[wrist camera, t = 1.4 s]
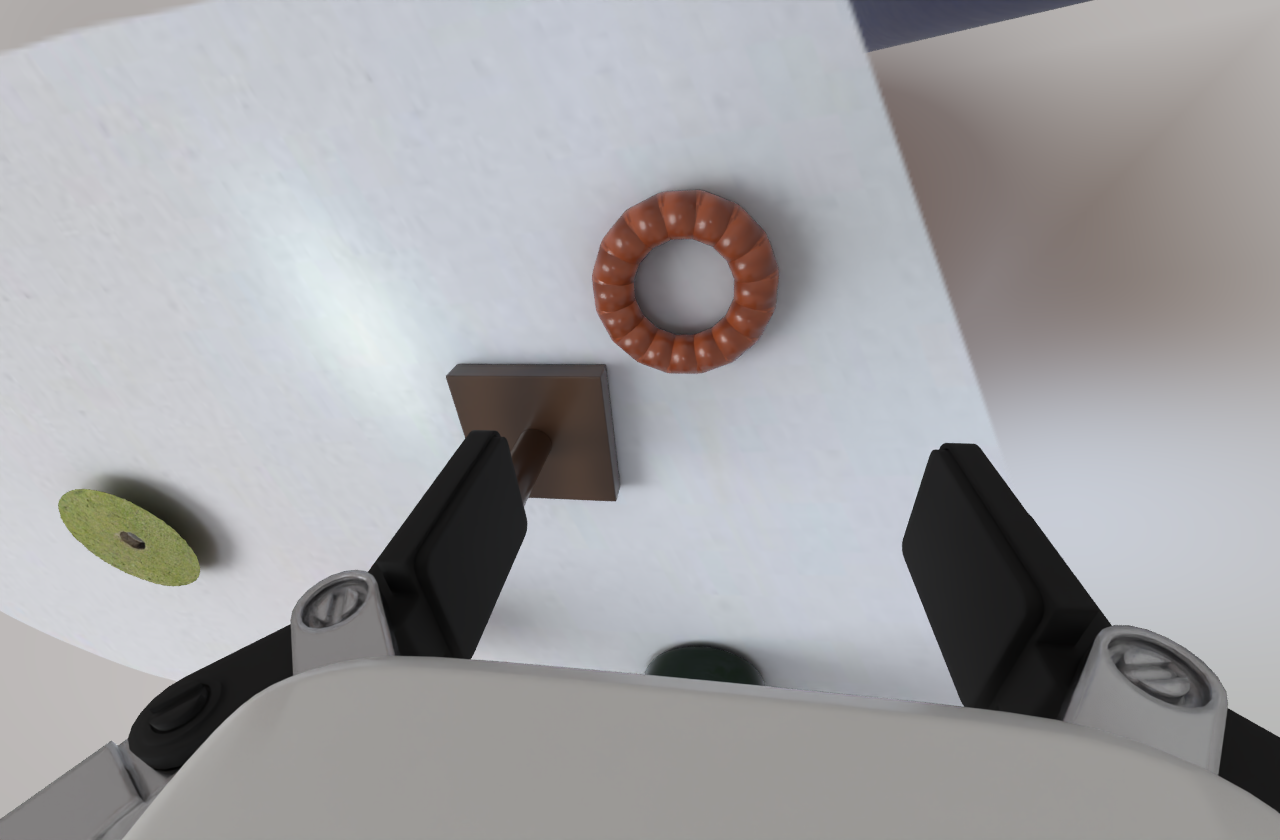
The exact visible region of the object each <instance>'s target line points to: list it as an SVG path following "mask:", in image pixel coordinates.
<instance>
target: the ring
mask: <svg viewBox="0 0 1280 840" xmlns="http://www.w3.org/2000/svg"><path fill="white" fill-rule="evenodd" d="M676 239H694V240H697V241H699V242H702V243H704V244H707V245H710V246H712V247H714V248H715V249H716V250H717V251H718V252H719V253H720V254H721V255H722V256H723V257H724V258H725V259H726V260H727V262H728V264H729V267H730V269H731V272H732V274H733V277H734V299H733V301H732V303H731V305H730V307H729V310H728V312H727V314H726V315H725V316H724V317H723V318H722V319H721V320H720V321H719V322H718V323H717V324H716V325H715V326H713V327H712V328H710V329H707V330H705V331H702V332H700V333H697V334H695V335H675V334H672V333H670V332H667V331H664V330H662V329H659V328H657V327H656V326H655V325H654V324H653V323H651V322H650V321H649V320H648V319H647V318H646V317H645V316H644V315H643V314H642V312H641V310H640V308H639V306H638V304H637V302H636V300H635V290H634V279H635V276H636V273H637V270H638V267H639V264H640V262H641V261H642V260H643V259H644V258H645V257H646V255H647V254H648V253H649V252H650V251H651V250H652V249H653V248H655V247H657V246H659V245H661V244H663V243H665V242H667V241H670V240H676ZM778 279H779V269H778V265H777V262H776V259H775V256H774V253H773V251H772V248H771V245H770V242H769V239H768V237H767V234H766V233H765V232H764V230H763V229H762V228H761V227H760V226H759V225H758V224H757V223H756V222H755V221H754V220H753V219H752V217H751V216H750V215H749V214H748V213H747V212H746V211H745V210H744V209H743V208H742V207H741V206H739V205H738V204H736V203H734V202H732V201H729V200H727V199H724V198H721V197H719V196H716V195H714V194H711V193H709V192H706V191H703V190H685V191H666V192H661V193H658V194H656V195H654V196H652V197H650V198H648V199H646V200H644V201H642V202H641V203H639V204H637V205H635V206H633V207H631V208H629V209H628V210H626V211H625V212H624V213H623V214H622V216H621V217H620V218H619V219H618V221H617V222H616V223H615V224H614V225H613V227H612V228H611V229H610V230H609V232H608V233H607V234H606V235H605V237H604V238H603V240H602V242H601V245H600V248H599V252H598V255H597V259H596V262H595V266H594V270H593V274H592V281H593V290H594V298H595V306H596V311H597V313H598V315H599V317H600V319H601V321H602V323H603V324H604V326H605V328H606V330H607V332H608V333H609V335H610V337H611V339H612V340H613V341H614V342H615V343H616V344H617V345H618V346H619V347H620V348H622V349H623V350H624V351H625V352H626V353H628V354H629V355H630V356H631V357H632V358H633V359H635V360H636V361H637V362H639V363H641V364H644V365H647V366H649V367H652V368H655V369H658V370H660V371H663V372H666V373H687V374H698V373H704V372H707V371H710V370H712V369H715V368H718V367H721V366H723V365H726V364H729V363H731V362H733V361H735V360H736V359H737V358H738V357H739V356H741V355H742V354H743V353H744V352H745V351H746V350H748V349H749V348H750V347H751V346H752V345H753V344H755V343H756V342H757V341H758V340H759V338H760V337H761V335H762V333H763V331H764V330H765V328H766V326H767V324H768V322H769V320H770V318H771V316H772V314H773V312H774V310H775V308H776V303H777V291H778Z"/></svg>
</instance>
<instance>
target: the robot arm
mask: <svg viewBox="0 0 1280 840" xmlns="http://www.w3.org/2000/svg"><path fill="white" fill-rule="evenodd" d="M526 531H527V518H526V514H525V510H524V506H523V502H522V497H521V493H520V489H519V485H518V481H517V477H516V473H515V469H514V465H513V461H512V457H511V453H510V448H509V444H508V441H507V439H506V438H505V437H501V436H500V434H499V432H498V431H494V430H472V431H471V432H470V433H469V434H468V436H467V437H466V438H465V440H464V441H463V442H462V444H461V445H460V447H459V448H458V449H457V451H456V452H455V453H454V455H453V456H452V457H451V459H450V460H449V462H448V463H447V464H446V466H445V467H444V468H443V470H442V471H441V473H440V474H439V475H438V477H437V478H436V479H435V481H434V482H433V484H432V485H431V486H430V488H429V489H428V490H427V492H426V493H425V494H424V496H423V497H422V499H421V500H420V501H419V503H418V504H417V505H416V507H415V508H414V510H413V511H412V512H411V514H410V515H409V516H408V518H407V519H406V520H405V522H404V523H403V525H402V526H401V527H400V529H399V530H398V531H397V533H396V534H395V536H394V537H393V538H392V540H391V541H390V542H389V544H388V545H387V547H386V548H385V549H384V551H383V552H382V553H381V555H380V556H379V557H378V559H377V560H376V562H375V563H374V564H373V566H372V567H371V569H370V570H369V571H368V572H366V571H360V570H351V571H344V572H341V573H337V574H334V575H331V576H329V577H328V578H326V579H324V580H322V581H320V582H318V583H317V584H316V585H314V586H313V587H312V588H310V589H309V590H308V591H307V592H306V593H305V594H304V595H303V596H302V597H301V598H300V599H299V600H298V602H297V604H296V606H295V607H294V609H293V611H292V616H291V624H290V625H288V626H286V627H284V628H282V629H280V630H278V631H276V632H274V633H272V634H270V635H268V636H266V637H264V638H262V639H260V640H258V641H256V642H254V643H252V644H250V645H248V646H246V647H244V648H242V649H240V650H238V651H236V652H234V653H232V654H230V655H228V656H226V657H224V658H222V659H220V660H218V661H216V662H214V663H212V664H210V665H208V666H206V667H204V668H202V669H200V670H198V671H196V672H194V673H192V674H190V675H188V676H186V677H184V678H183V679H181V680H179V681H178V682H176V683H174V684H172V685H171V686H169V687H168V688H167V689H165V690H164V691H163V692H162V693H161V694H159V695H158V696H157V697H155V698H154V699H153V700H152V701H151V702H150V703H149V704H148V705H147V707H146V708H145V709H144V710H143V711H142V712H141V713H140V715H139V716H138V718H137V719H136V721H135V722H134V724H133V726H132V728H131V731H130V734H129V737H128V739H127V740H125V741H124V742H122V743H121V744H120V745H116V744H115V743H114V742H112V741H110V742H109V743H108V744H106V745H105V746H103V747H102V748H100V749H99V750H98V751H97V752H95V753H93V754H92V755H91V756H89V757H88V758H86V759H85V760H83V761H82V762H81V763H79V764H78V765H76V766H75V767H73V768H72V769H71V770H69V771H68V772H66V773H65V774H64V775H62V776H61V777H59V778H58V779H57V780H55V781H54V782H52V783H51V784H49V785H48V786H47V787H45V788H44V789H42V790H41V791H39V792H38V793H37V794H35V795H34V796H33V797H31V798H30V799H28V800H27V801H26V802H24V803H22V804H21V805H20V806H18V807H17V808H15V809H14V810H13V811H11V812H10V813H8V814H7V815H5V816H4V817H3V818H1V819H0V840H1280V737H1278V736H1276V735H1274V734H1273V733H1271V732H1269V731H1267V730H1265V729H1264V728H1262V727H1260V726H1258V725H1257V724H1255V723H1253V722H1251V721H1250V720H1248V719H1246V718H1244V717H1242V716H1241V715H1239V714H1237V713H1235V712H1234V711H1232V710H1230V709H1228V700H1227V694H1226V690H1225V689H1224V687H1223V685H1222V683H1221V682H1220V680H1219V678H1218V677H1217V676H1216V675H1215V673H1213V671H1212V670H1211V669H1210V668H1209V667H1208V666H1207V665H1206V664H1205V663H1204V662H1203V661H1202V660H1201V659H1199V658H1198V657H1197V656H1195V655H1194V654H1193V653H1191V652H1190V651H1189V650H1187V649H1186V648H1184V647H1183V646H1181V645H1179V644H1177V643H1175V642H1174V641H1172V640H1170V639H1169V638H1166V637H1164V636H1162V635H1160V634H1157V633H1154V632H1152V631H1149V630H1147V629H1142V628H1138V627H1134V626H1129V625H1123V626H1122V625H1114V626H1112V625H1111V624H1110V623H1109V621H1108V620H1107V619H1106V617H1105V616H1104V614H1103V613H1102V612H1101V610H1100V609H1099V608H1098V606H1097V605H1096V604H1095V602H1094V601H1093V599H1092V598H1091V597H1090V595H1089V594H1088V593H1087V591H1086V590H1085V589H1084V587H1083V586H1082V584H1081V583H1080V582H1079V580H1078V579H1077V578H1076V576H1075V575H1074V574H1073V572H1072V571H1071V570H1070V568H1069V567H1068V566H1067V565H1066V563H1065V562H1064V560H1063V559H1062V557H1061V556H1060V555H1059V553H1058V552H1057V550H1056V549H1055V548H1054V547H1053V545H1052V544H1051V542H1050V541H1049V540H1048V538H1047V537H1046V536H1045V534H1044V533H1043V531H1042V530H1041V529H1040V527H1039V526H1038V525H1037V523H1036V522H1035V521H1034V519H1033V518H1032V517H1031V516H1030V515H1029V514H1028V513H1027V511H1026V510H1025V509H1024V507H1023V506H1022V505H1021V503H1020V502H1019V500H1018V499H1017V498H1016V496H1015V495H1014V494H1013V492H1012V491H1011V489H1010V488H1009V487H1008V485H1007V484H1006V483H1005V481H1004V480H1003V479H1002V477H1001V476H1000V474H999V473H998V472H997V470H996V469H995V468H994V466H993V465H992V464H991V462H990V461H989V459H988V458H987V457H986V455H985V454H984V453H983V451H982V450H981V448H980V447H979V446H978V445H976V444H962V443H945V444H943V445H942V446H941V447H940V449H939V450H933V451H932V452H931V454H930V456H929V460H928V463H927V466H926V469H925V472H924V475H923V478H922V481H921V485H920V488H919V491H918V494H917V497H916V500H915V503H914V506H913V510H912V513H911V516H910V519H909V522H908V525H907V528H906V531H905V535H904V538H903V542H902V551H903V556H904V559H905V562H906V564H907V567H908V569H909V572H910V574H911V577H912V579H913V582H914V584H915V587H916V589H917V592H918V594H919V597H920V599H921V602H922V604H923V607H924V609H925V612H926V614H927V617H928V619H929V622H930V625H931V627H932V630H933V632H934V635H935V637H936V640H937V642H938V645H939V647H940V650H941V652H942V655H943V657H944V660H945V662H946V665H947V667H948V670H949V672H950V675H951V677H952V680H953V682H954V685H955V688H956V690H957V693H958V695H959V698H960V700H961V702H962V704H963V705H964V707H960V706H951V705H943V704H934V703H926V702H917V701H908V700H898V699H888V698H878V697H868V696H858V695H848V694H839V693H829V692H819V691H809V690H799V689H789V688H779V687H769V686H758V685H748V684H738V683H727V682H717V681H707V680H696V679H686V678H675V677H664V676H654V675H643V674H633V673H622V672H611V671H600V670H589V669H578V668H567V667H556V666H545V665H533V664H522V663H511V662H499V661H485V660H471V658H472V656H473V654H474V652H475V650H476V647H477V645H478V643H479V641H480V638H481V636H482V634H483V631H484V629H485V627H486V625H487V622H488V620H489V618H490V615H491V613H492V611H493V608H494V606H495V604H496V602H497V599H498V597H499V595H500V592H501V590H502V588H503V586H504V583H505V581H506V579H507V576H508V574H509V572H510V569H511V567H512V565H513V563H514V560H515V558H516V556H517V553H518V551H519V549H520V546H521V544H522V542H523V540H524V537H525V535H526Z"/></svg>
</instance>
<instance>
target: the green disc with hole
mask: <svg viewBox="0 0 1280 840" xmlns="http://www.w3.org/2000/svg"><path fill="white" fill-rule="evenodd" d="M58 507H59V512H60V515H61V519H62V520H63V522H64V523H65V525H66V527H67V528H68V530H69V531H70V532H71V533H72V535H73V536H74V537H75V538H76V539H77V540H78V541H79V542H81V543H82V544H83V545H84V546H85V547H86V548H87V549H88V550H89V551H91V552H92V553H93V554H95V555H96V556H99V558H100V559H102V560H104V561H105V562H107V563H108V564H111V565H112V566H114V567H116V568H118V569H120V570H122V571H124V572H125V573H128V574H130V575H133V576H136V577H138V578H140V579H143V580H144V579H145V580H146V581H147V580H148V581H149V582H153V583H155V584H161V585H164V586H181V585H187V584H190V583H193V582H194V581H196V580H197V578H198V577H199V574H200V565H199V562H198V560H197V555H195V554H194V552H192V551H193V550H192V549H191V547H189V546H188V545H187V543H186V541H185V540H184V539H183V538H181V537H180V535H179V534H178V533H176V531H175V529H172V528H171V527H170V526H169V525H167V524H166V523H165V522H164V521H163V520H161V519H159V518H157V517H155V516H154V515H153V514H151V513H149V512H148V511H146V510H144V509H143V508H141V507H139V506H136V505H135V504H132V502H130V501H127V500H126V499H122V498H119V497H116V496H115V495H111V494H108V493H105V492H100V491H97V490H96V491H95V490H90V489H89V490H87V489H75V490H72V491H69V492H67V493H66V494H64V495H63V496H62V497H61V499H60V501H59V505H58Z"/></svg>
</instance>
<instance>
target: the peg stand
mask: <svg viewBox="0 0 1280 840" xmlns="http://www.w3.org/2000/svg"><path fill="white" fill-rule="evenodd" d="M446 379H447V382H448V385H449V388H450V391H451V395H452V398H453V401H454V404H455V407H456V410H457V413H458V417H459V420H460V423H461V426H462V429H463V432H464V435H465V438H466V437H467V436H468V434H469V433H470V432H471V431H472V430H494V431H498V432H499V434H500V436H501V437H505V438H506V439H507V441H508V444H509V448H510V453H511V457H512V461H513V465H514V469H515V473H516V477H517V481H518V485H519V489H520V493H521V497H522V502H523V506H524V505H525V503H526V501H527V499H528V498H550V499H573V500H595V501H616V500H617V496H618V493H619V489H620V481H619V473H618V464H617V456H616V447H615V439H614V431H613V422H612V414H611V405H610V397H609V388H608V380H607V372H606V366H605V365H461V364H458V365H456V366H455V367H454V368H453V369H452V370H451V371H450V372H449V373H448V374H447V375H446Z"/></svg>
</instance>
